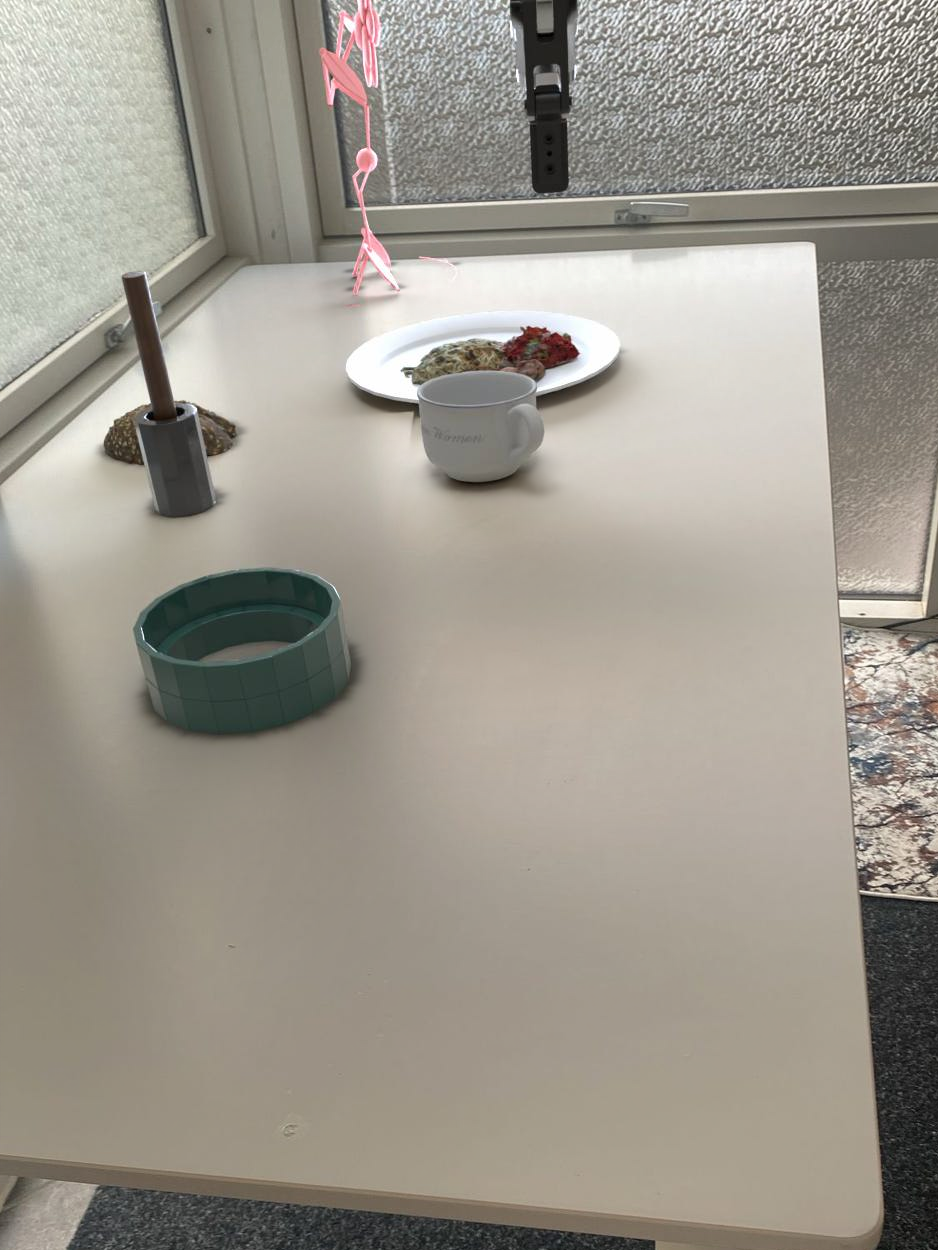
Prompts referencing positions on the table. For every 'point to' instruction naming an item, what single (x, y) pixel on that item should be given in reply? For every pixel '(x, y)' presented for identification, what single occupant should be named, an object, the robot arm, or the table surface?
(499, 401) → the teacup
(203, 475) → the holder
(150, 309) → the stick
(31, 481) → the table surface
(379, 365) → the plated food
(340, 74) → the figurine
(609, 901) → the table surface
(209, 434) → the bread roll
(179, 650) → the ring
